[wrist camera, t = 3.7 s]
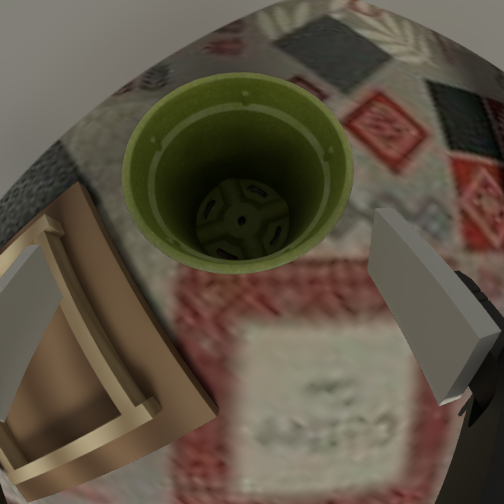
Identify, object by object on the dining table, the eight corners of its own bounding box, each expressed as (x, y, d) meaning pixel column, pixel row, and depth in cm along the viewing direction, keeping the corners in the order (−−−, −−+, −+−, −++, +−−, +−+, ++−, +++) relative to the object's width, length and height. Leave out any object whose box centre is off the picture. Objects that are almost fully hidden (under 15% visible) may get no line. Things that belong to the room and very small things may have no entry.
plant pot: (207, 141, 22) (186, 55, 13) (333, 186, 21) (374, 110, 13) (148, 261, 20) (83, 219, 12) (285, 318, 19) (309, 314, 11)
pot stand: (87, 189, 21) (64, 169, 18) (219, 410, 18) (212, 427, 14) (-50, 320, 19) (-75, 317, 15) (36, 496, 16) (15, 510, 12)
